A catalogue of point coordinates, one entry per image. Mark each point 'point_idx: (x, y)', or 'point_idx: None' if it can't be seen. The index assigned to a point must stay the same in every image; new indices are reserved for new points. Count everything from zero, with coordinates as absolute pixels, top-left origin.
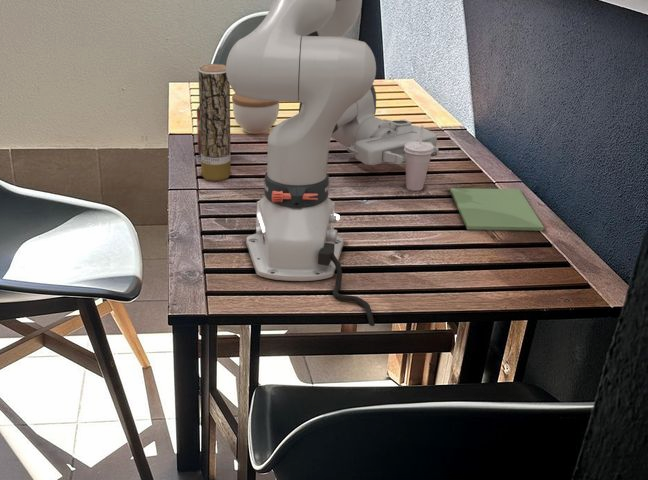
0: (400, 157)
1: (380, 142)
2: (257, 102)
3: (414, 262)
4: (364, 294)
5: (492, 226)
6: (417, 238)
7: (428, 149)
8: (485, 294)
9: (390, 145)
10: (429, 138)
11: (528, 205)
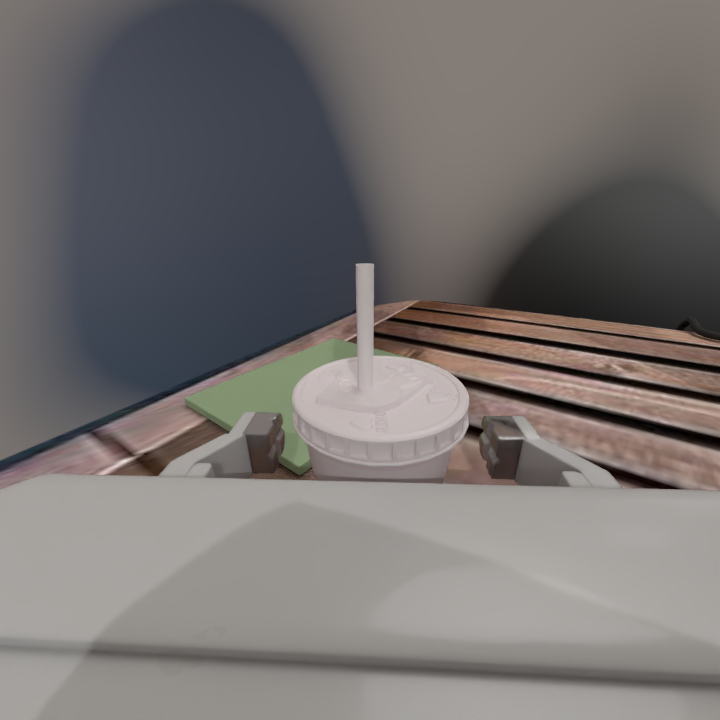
0: (523, 417)
1: (669, 630)
2: None
3: (589, 355)
4: (694, 343)
5: (399, 355)
6: (553, 383)
7: (373, 360)
8: (520, 319)
9: (553, 497)
10: (123, 477)
11: (269, 365)
